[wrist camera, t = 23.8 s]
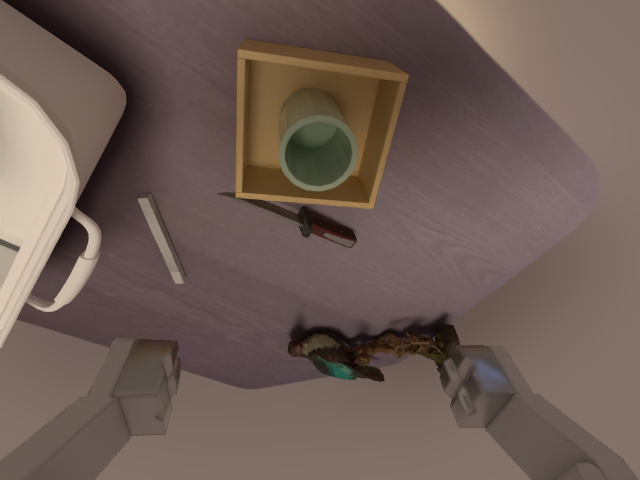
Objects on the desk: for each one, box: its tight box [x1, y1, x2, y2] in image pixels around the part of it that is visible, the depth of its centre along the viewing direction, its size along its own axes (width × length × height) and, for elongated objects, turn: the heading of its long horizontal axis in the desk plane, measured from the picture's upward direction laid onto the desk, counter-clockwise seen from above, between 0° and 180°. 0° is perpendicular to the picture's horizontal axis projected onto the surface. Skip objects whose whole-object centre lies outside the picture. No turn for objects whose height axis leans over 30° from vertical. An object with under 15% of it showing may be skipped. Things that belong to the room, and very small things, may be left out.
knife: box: [218, 192, 357, 248], centre depth 39 cm, size 17×1×5 cm, turn 58°
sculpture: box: [288, 324, 460, 382], centre depth 52 cm, size 8×14×25 cm
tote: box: [236, 39, 409, 209], centre depth 32 cm, size 12×13×7 cm
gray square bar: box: [137, 193, 186, 284], centre depth 41 cm, size 12×1×1 cm, turn 5°
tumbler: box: [278, 88, 358, 191], centre depth 31 cm, size 6×6×9 cm
